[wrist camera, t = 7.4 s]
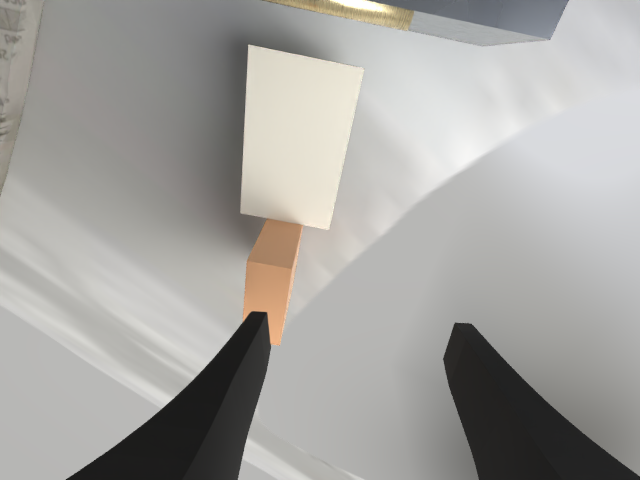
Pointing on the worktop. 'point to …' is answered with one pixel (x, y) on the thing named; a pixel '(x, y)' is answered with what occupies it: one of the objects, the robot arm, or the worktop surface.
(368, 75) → the worktop surface
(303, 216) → the two-tone stacked block
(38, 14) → the packaged product
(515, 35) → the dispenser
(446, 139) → the worktop surface
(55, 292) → the worktop surface
